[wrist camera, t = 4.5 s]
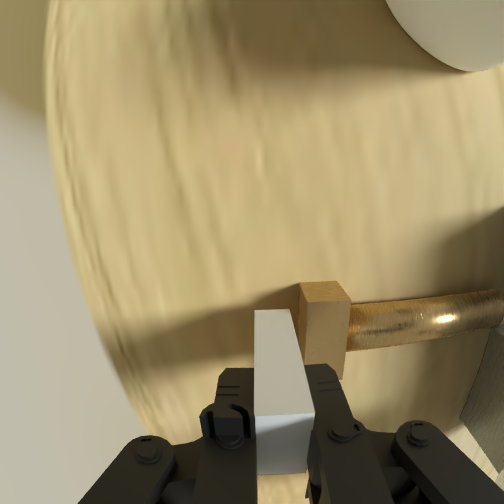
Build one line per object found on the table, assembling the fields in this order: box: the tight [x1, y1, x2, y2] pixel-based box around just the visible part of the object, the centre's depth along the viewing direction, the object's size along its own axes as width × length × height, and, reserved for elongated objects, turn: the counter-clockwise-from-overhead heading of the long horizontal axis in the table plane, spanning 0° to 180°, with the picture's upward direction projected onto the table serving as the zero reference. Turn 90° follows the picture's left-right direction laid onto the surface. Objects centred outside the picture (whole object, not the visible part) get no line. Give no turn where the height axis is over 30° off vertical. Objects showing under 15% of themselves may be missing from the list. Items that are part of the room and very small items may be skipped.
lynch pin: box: [298, 281, 504, 380], centre depth 13 cm, size 12×4×2 cm, turn 92°
